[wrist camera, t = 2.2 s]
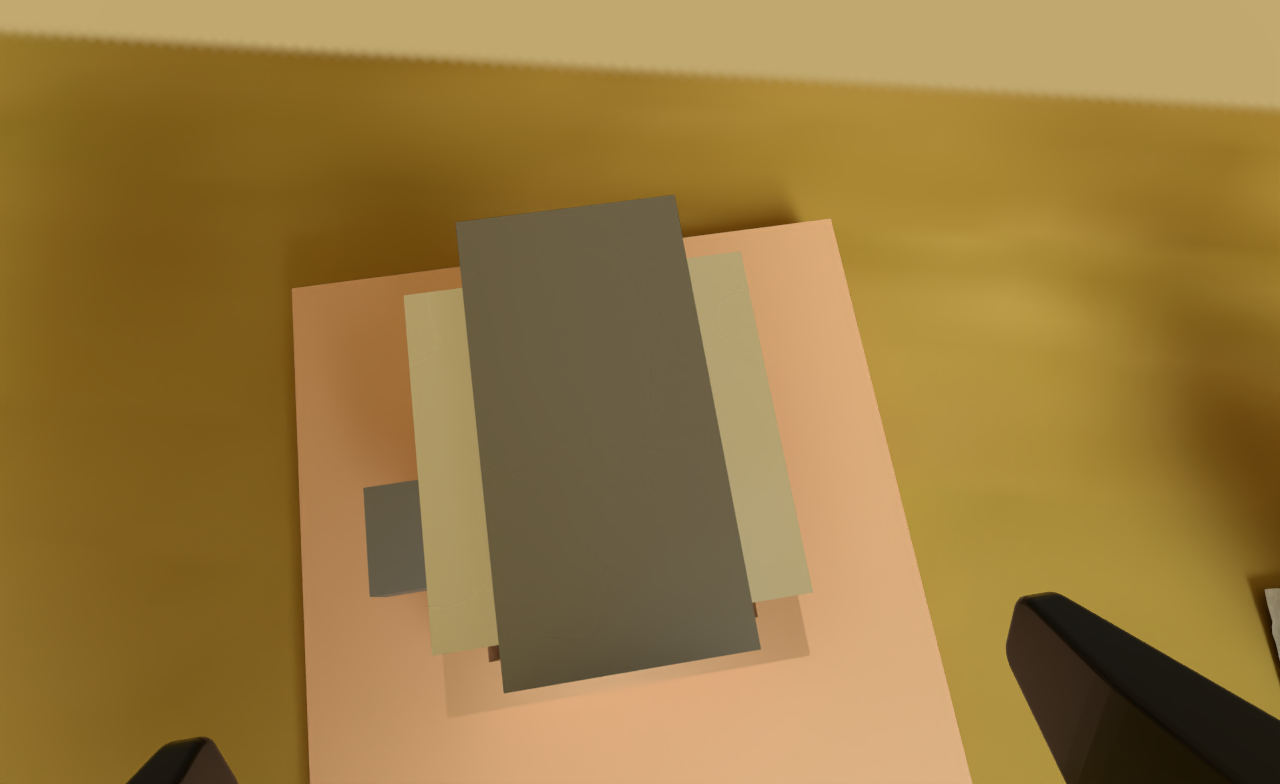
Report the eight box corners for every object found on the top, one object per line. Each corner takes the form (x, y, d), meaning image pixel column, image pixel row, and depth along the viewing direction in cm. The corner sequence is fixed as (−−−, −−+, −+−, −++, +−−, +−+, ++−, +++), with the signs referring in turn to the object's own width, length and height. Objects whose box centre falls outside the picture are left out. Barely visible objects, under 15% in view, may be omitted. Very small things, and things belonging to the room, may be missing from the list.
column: (716, 613, 17) (859, 632, 7) (526, 645, 17) (397, 712, 7) (680, 410, 18) (757, 183, 8) (503, 435, 18) (365, 232, 8)
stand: (945, 780, 18) (1071, 848, 13) (341, 894, 16) (228, 1014, 12) (816, 244, 21) (875, 140, 16) (314, 310, 20) (220, 219, 15)
